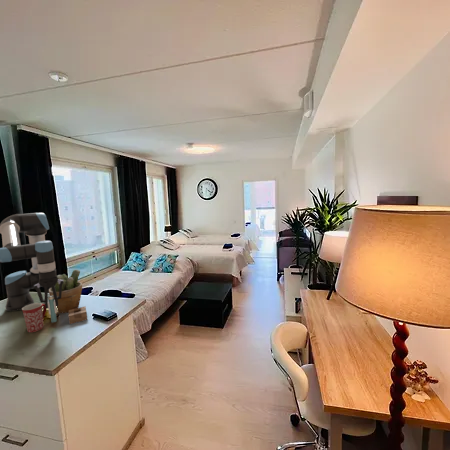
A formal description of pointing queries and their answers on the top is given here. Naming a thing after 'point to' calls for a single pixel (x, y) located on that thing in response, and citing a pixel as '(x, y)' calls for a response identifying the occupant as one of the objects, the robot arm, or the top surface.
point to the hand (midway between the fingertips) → (53, 312)
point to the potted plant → (68, 292)
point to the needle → (52, 309)
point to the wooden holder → (77, 315)
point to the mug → (34, 316)
